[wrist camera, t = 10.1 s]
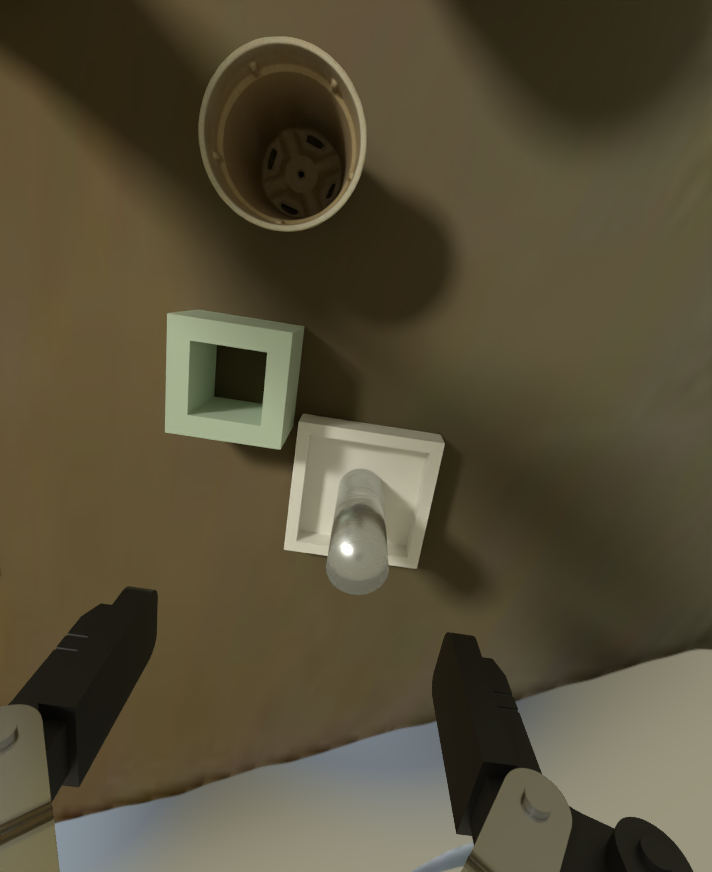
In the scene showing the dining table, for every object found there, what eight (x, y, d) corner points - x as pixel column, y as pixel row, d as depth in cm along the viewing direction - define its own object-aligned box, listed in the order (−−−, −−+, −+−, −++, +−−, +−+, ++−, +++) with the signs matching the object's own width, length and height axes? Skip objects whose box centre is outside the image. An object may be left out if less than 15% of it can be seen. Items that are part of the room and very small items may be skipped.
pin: (335, 506, 41) (322, 590, 29) (341, 465, 40) (330, 536, 28) (379, 512, 41) (383, 598, 29) (386, 472, 40) (393, 545, 28)
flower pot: (369, 102, 32) (370, 36, 24) (365, 246, 35) (364, 233, 26) (236, 99, 32) (190, 33, 24) (243, 243, 35) (204, 229, 27)
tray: (288, 534, 43) (283, 549, 40) (303, 413, 39) (298, 421, 36) (414, 553, 43) (416, 569, 40) (440, 434, 39) (444, 443, 37)
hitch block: (194, 411, 39) (164, 432, 33) (199, 309, 36) (167, 313, 31) (293, 426, 39) (280, 449, 34) (304, 326, 37) (292, 332, 31)
